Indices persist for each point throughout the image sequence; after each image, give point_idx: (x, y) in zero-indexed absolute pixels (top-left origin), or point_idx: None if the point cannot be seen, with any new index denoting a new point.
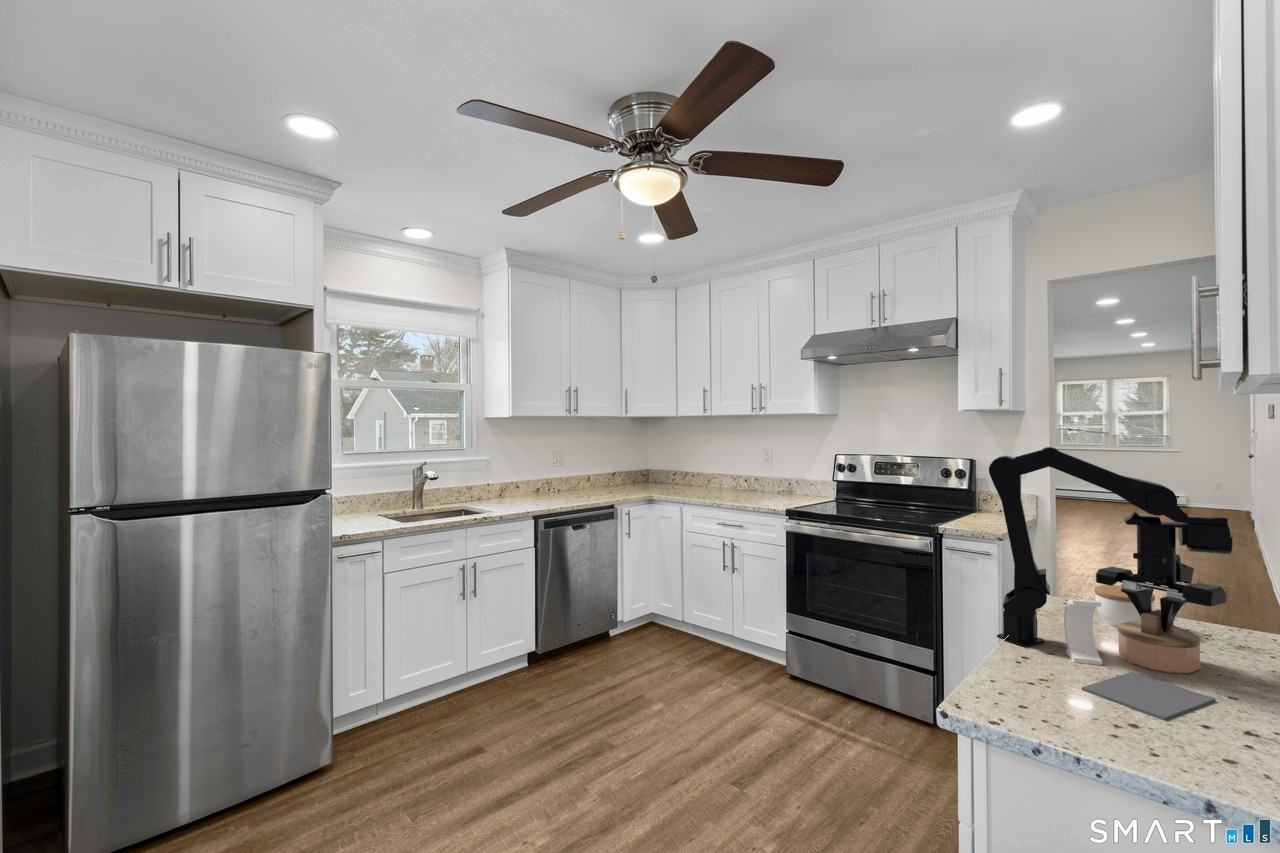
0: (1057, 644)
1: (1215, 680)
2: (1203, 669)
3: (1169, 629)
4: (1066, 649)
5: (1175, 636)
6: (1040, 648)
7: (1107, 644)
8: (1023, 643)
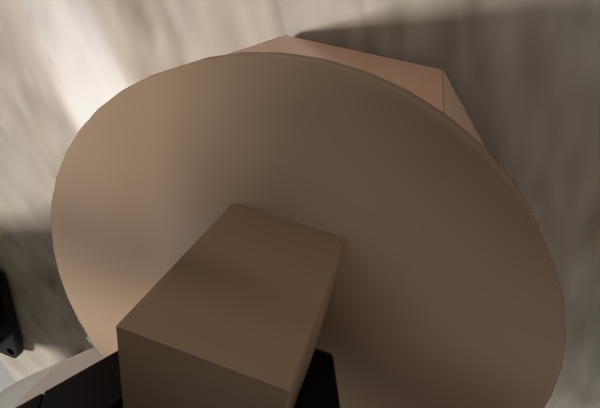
0: (29, 258)
1: (587, 301)
2: (531, 163)
3: (333, 364)
4: (89, 339)
5: (387, 362)
6: (43, 331)
7: (88, 102)
8: (7, 348)
